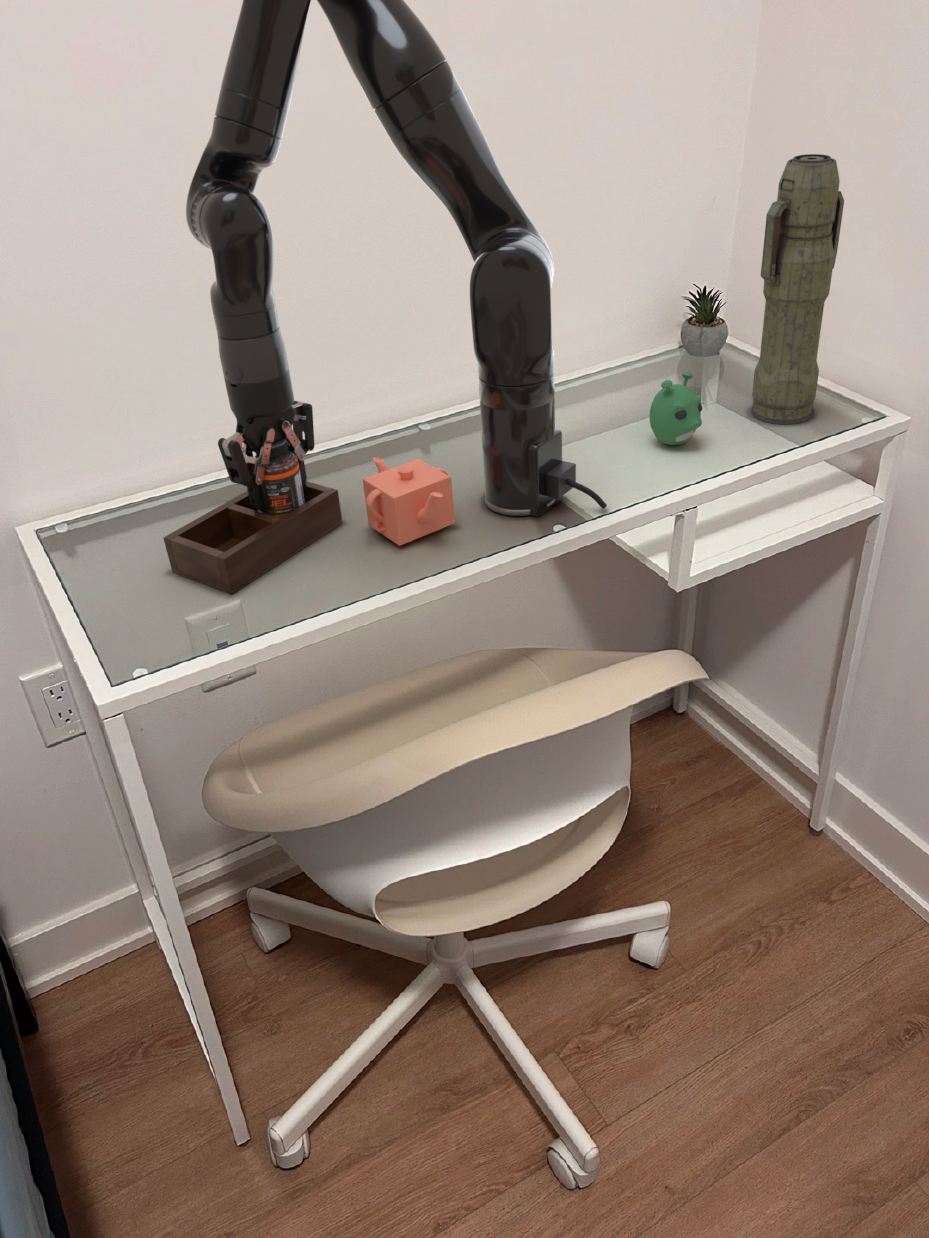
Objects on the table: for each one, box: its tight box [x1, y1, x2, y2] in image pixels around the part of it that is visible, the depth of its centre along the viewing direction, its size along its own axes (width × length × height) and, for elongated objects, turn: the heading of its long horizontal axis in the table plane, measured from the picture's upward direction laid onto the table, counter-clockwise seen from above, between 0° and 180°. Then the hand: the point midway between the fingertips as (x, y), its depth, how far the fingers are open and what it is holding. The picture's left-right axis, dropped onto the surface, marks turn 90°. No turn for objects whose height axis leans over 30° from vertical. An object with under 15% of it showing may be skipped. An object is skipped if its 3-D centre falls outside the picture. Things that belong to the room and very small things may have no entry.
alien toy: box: [649, 370, 703, 446], centre depth 140 cm, size 7×8×10 cm
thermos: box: [751, 153, 845, 425], centre depth 140 cm, size 9×12×35 cm
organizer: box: [162, 481, 344, 595], centre depth 124 cm, size 10×20×5 cm, turn 145°
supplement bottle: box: [252, 438, 305, 518], centre depth 125 cm, size 6×6×11 cm
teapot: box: [362, 456, 456, 547], centre depth 125 cm, size 12×15×8 cm
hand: (280, 497), depth 126 cm, fingers closed on supplement bottle, 6 cm apart
